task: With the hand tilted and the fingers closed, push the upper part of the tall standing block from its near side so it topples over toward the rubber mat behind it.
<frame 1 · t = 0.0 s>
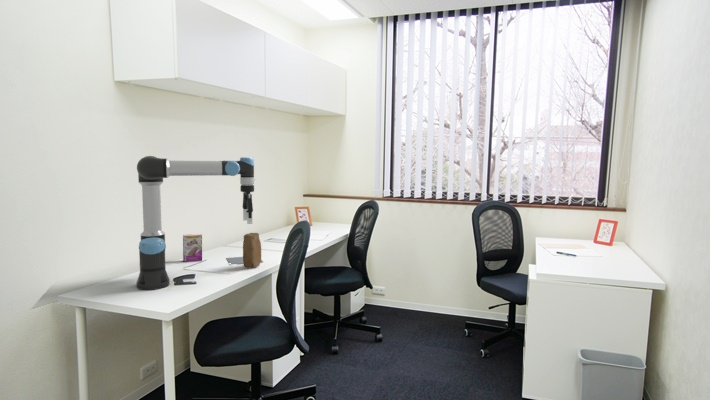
hand: (247, 222, 247), 28 cm above the table, tool pointing down, fingers open, 13 cm apart
mat: (244, 260, 273), on the table
candy bar box: (193, 261, 271), on the table
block: (252, 266, 259), on the table
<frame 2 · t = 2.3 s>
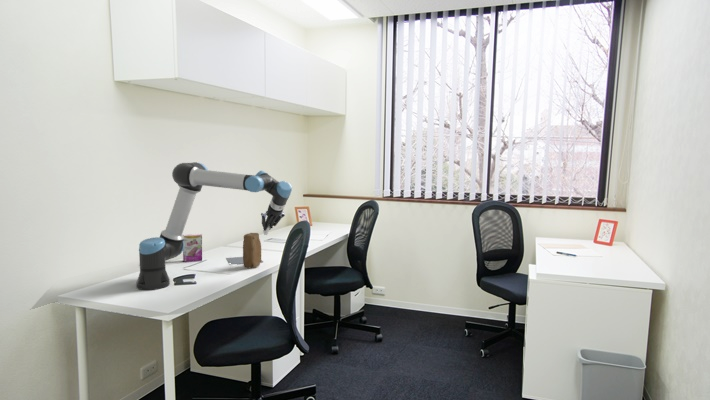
hand: (265, 232, 239), 23 cm above the table, tool tilted 45°, fingers closed
nothing on the table moved.
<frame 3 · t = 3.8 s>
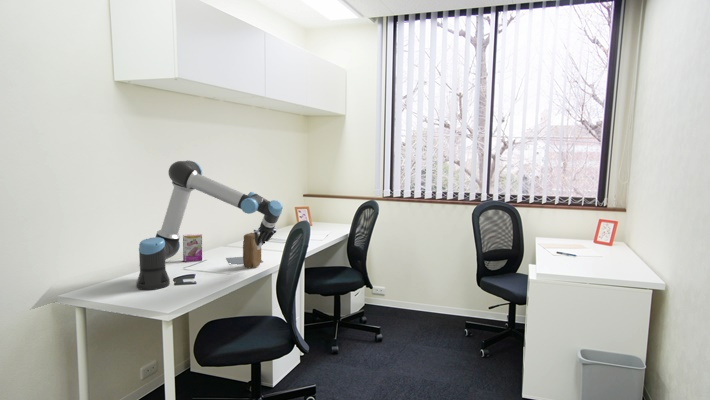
hand: (258, 247, 250), 13 cm above the table, tool tilted 45°, fingers closed
nothing on the table moved.
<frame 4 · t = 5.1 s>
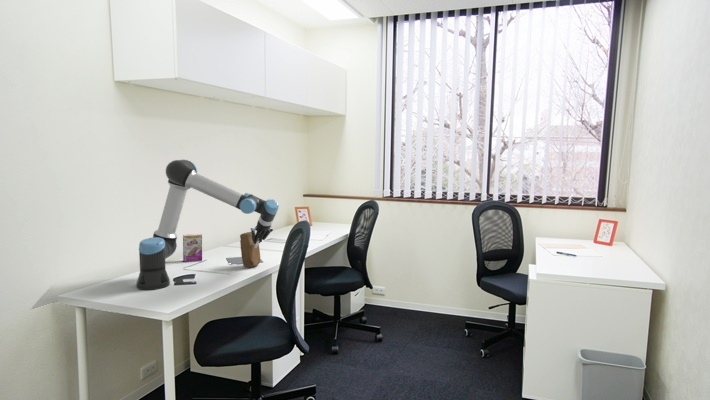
hand: (255, 245, 255), 13 cm above the table, tool tilted 45°, fingers closed
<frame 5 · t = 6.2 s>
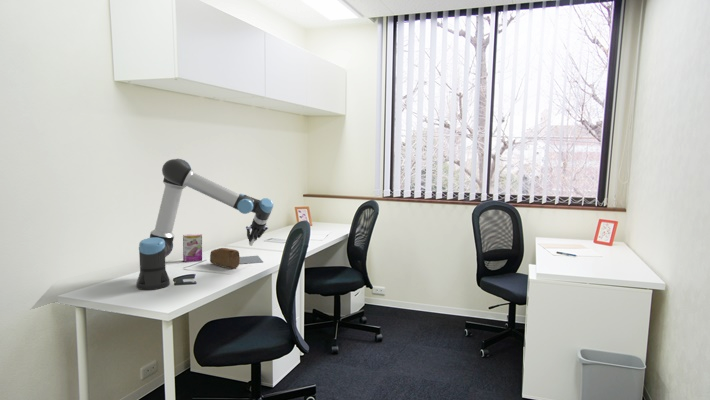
hand: (250, 243, 260), 13 cm above the table, tool tilted 45°, fingers closed
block: (235, 259, 252), point 6 cm above the table
everything else where it was.
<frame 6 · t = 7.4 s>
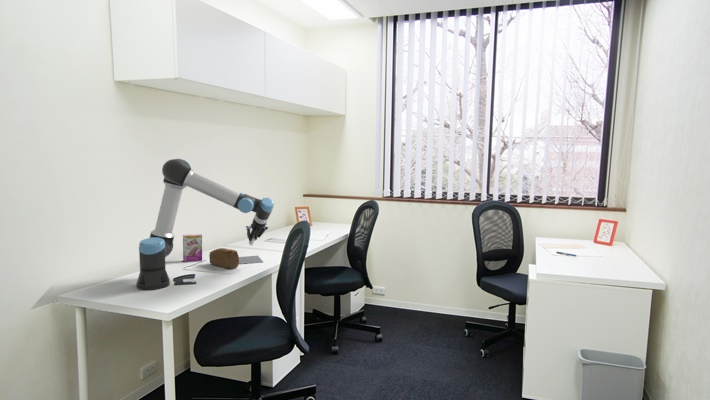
hand: (250, 243, 260), 13 cm above the table, tool tilted 45°, fingers closed
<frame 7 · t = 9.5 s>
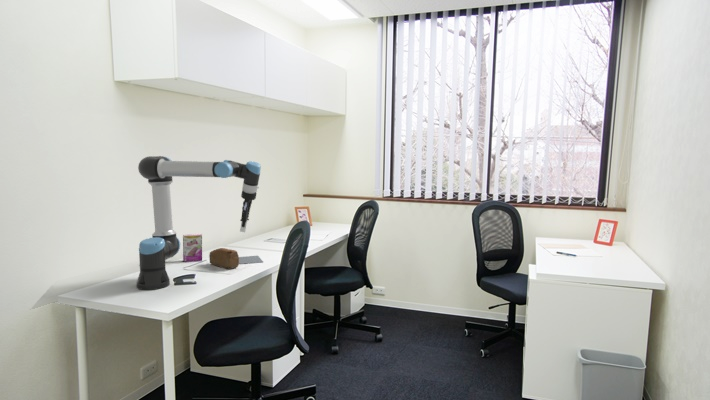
hand: (242, 231, 235), 25 cm above the table, tool tilted 20°, fingers closed
nothing on the table moved.
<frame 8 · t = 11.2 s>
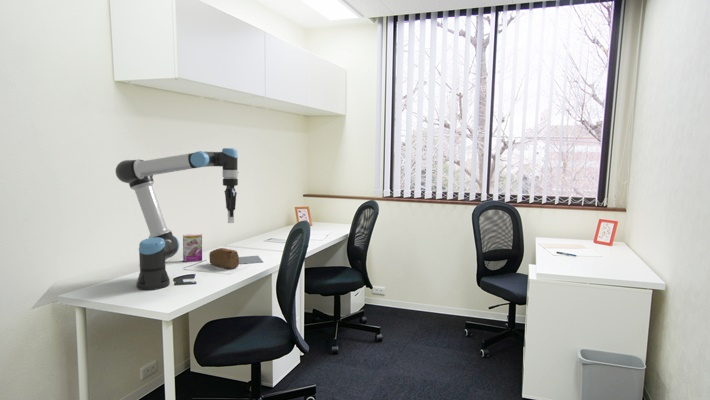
hand: (230, 222, 229), 30 cm above the table, tool pointing down, fingers closed
nothing on the table moved.
at the end: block tilted 91°; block inside the target area (13.5 cm from its centre), point 5.5 cm above the table; the gripper is holding nothing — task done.
